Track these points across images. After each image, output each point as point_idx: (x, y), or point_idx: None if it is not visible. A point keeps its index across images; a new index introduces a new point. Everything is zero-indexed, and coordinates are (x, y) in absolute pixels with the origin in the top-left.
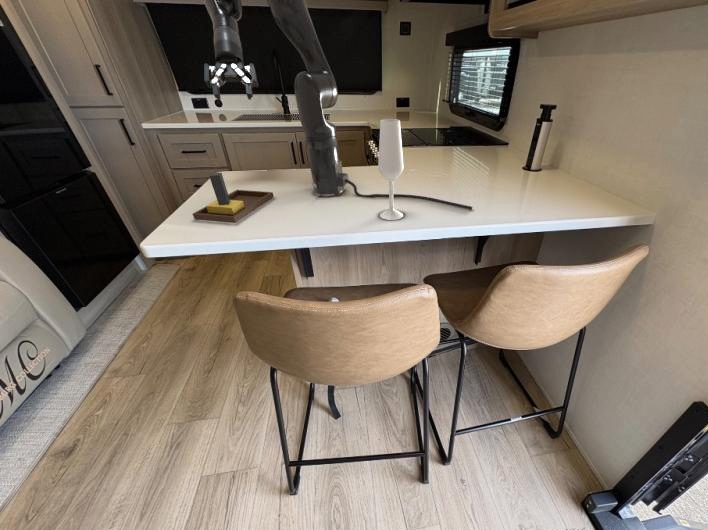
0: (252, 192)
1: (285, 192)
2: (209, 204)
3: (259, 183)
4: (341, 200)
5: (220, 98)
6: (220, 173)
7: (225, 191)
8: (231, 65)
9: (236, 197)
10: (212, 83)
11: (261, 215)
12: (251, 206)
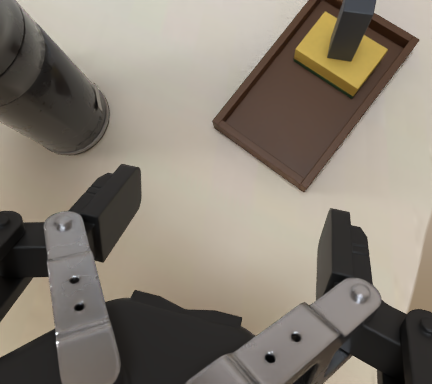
0: (264, 150)
1: (175, 167)
2: (379, 54)
3: (232, 294)
4: (66, 49)
5: (317, 257)
6: (345, 1)
7: (336, 23)
8: (112, 373)
9: (310, 164)
10: (370, 287)
11: (260, 27)
12: (278, 38)
